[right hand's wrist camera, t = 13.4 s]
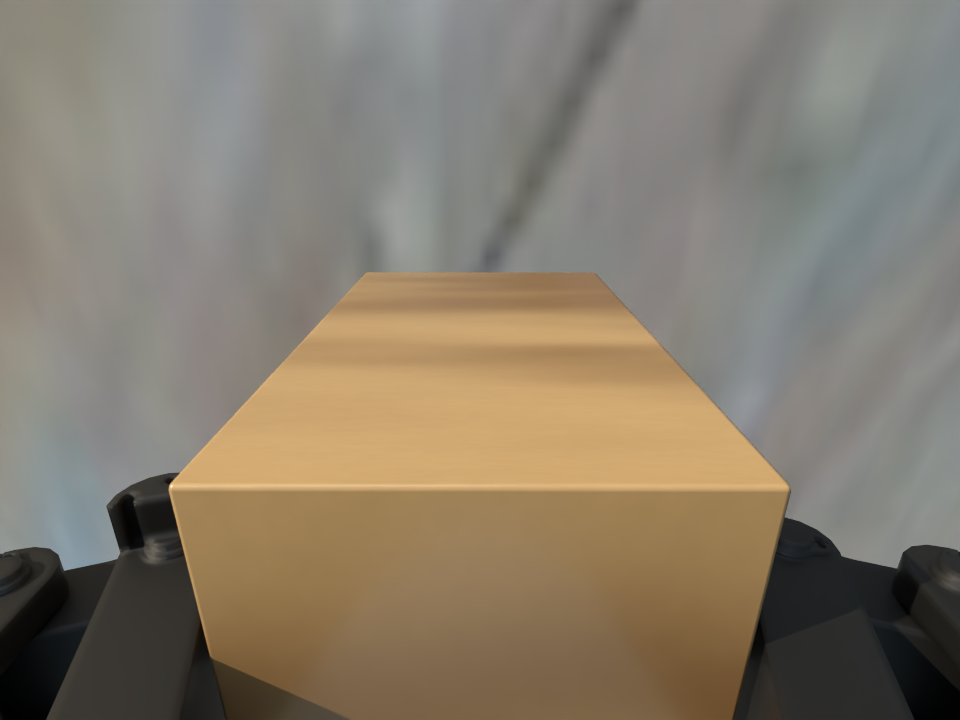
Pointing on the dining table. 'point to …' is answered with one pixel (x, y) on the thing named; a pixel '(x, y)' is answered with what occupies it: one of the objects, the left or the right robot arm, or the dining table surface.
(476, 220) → the dining table surface
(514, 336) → the bar
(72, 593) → the right robot arm
